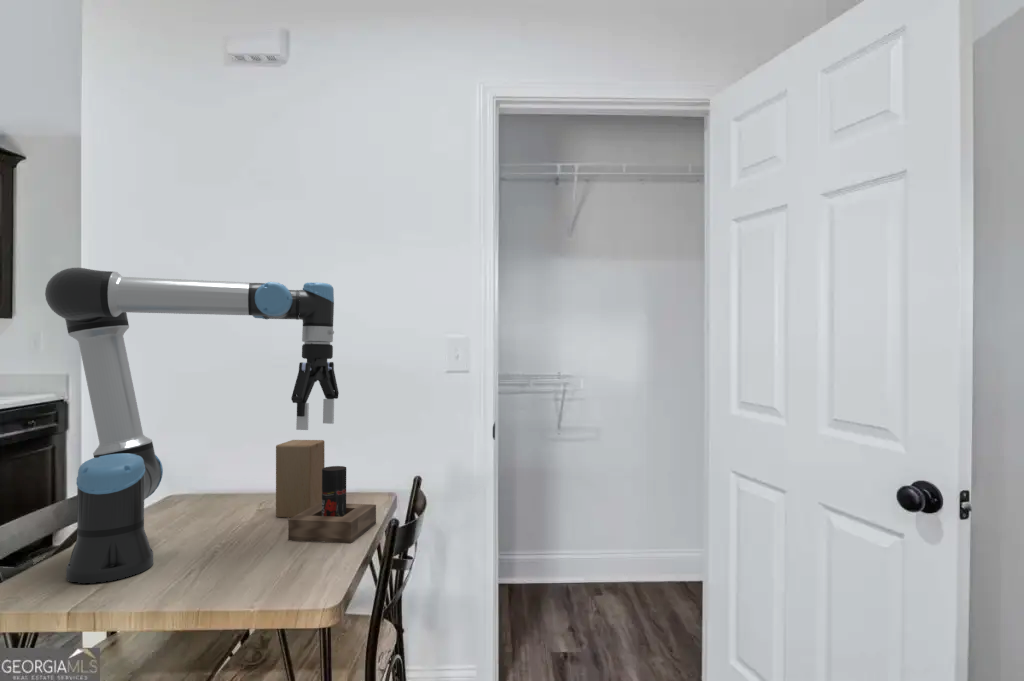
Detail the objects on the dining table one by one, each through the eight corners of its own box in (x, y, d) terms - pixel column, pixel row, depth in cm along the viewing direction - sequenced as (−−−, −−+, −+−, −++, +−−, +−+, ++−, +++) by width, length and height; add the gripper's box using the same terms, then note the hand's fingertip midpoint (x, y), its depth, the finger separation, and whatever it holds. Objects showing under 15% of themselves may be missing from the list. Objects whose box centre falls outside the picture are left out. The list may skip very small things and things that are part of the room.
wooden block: (325, 508, 171) (325, 439, 171) (309, 518, 161) (310, 445, 161) (292, 508, 172) (292, 439, 172) (275, 517, 162) (275, 445, 162)
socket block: (288, 540, 142) (288, 519, 143) (319, 521, 158) (319, 502, 158) (351, 543, 140) (351, 522, 140) (376, 523, 156) (376, 504, 156)
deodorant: (351, 526, 150) (351, 467, 150) (332, 532, 145) (332, 471, 145) (335, 522, 153) (335, 465, 154) (316, 528, 148) (316, 469, 149)
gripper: (306, 342, 138) (304, 433, 137) (352, 344, 163) (350, 421, 162) (277, 342, 139) (275, 432, 139) (326, 344, 164) (325, 420, 163)
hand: (315, 426), depth 150 cm, fingers open, 13 cm apart
